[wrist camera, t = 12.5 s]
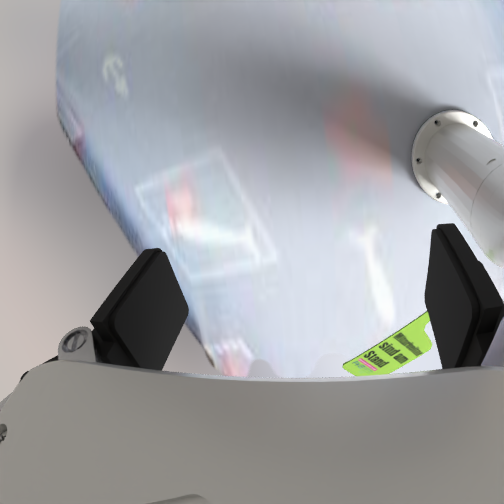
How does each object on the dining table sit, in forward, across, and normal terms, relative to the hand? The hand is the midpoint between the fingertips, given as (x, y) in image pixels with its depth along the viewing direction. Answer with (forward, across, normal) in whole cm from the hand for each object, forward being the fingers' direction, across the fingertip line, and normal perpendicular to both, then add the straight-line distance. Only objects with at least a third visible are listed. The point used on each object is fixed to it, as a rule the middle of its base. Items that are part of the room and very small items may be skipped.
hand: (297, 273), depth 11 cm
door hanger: (+31, -13, +41) cm, 53 cm away
